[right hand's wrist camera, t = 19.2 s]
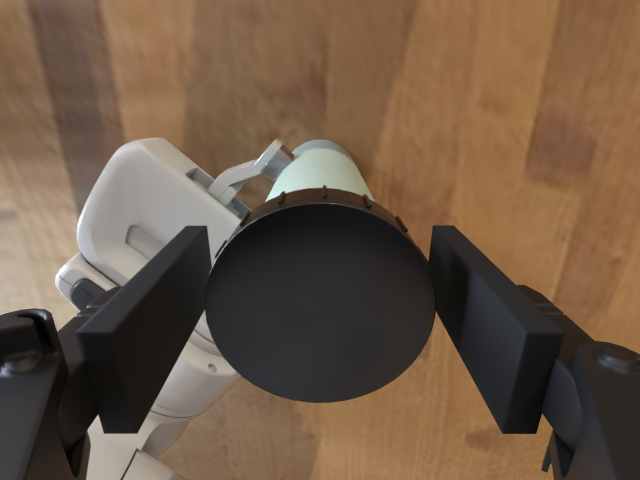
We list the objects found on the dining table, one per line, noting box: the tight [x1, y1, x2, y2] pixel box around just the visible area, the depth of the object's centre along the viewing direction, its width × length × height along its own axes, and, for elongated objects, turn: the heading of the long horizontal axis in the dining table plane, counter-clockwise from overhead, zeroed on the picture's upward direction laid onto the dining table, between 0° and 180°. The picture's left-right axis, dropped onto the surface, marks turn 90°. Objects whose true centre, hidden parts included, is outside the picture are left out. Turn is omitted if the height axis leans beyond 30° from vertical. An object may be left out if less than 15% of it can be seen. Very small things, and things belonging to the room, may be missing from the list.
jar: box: [265, 140, 375, 202], centre depth 20 cm, size 6×6×18 cm
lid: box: [205, 185, 436, 403], centre depth 11 cm, size 7×7×2 cm
